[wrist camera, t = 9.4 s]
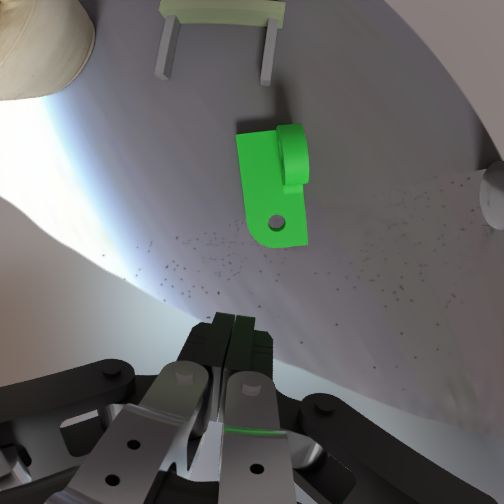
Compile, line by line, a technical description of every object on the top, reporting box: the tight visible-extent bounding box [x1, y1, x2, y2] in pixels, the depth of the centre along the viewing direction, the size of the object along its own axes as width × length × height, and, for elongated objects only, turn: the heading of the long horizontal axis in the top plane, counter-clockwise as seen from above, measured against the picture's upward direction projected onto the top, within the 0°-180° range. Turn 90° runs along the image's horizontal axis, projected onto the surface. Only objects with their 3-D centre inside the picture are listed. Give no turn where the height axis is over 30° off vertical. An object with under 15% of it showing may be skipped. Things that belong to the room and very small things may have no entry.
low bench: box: [154, 0, 286, 87], centre depth 27 cm, size 13×9×4 cm
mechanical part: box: [236, 124, 309, 248], centre depth 29 cm, size 12×6×8 cm, turn 7°
